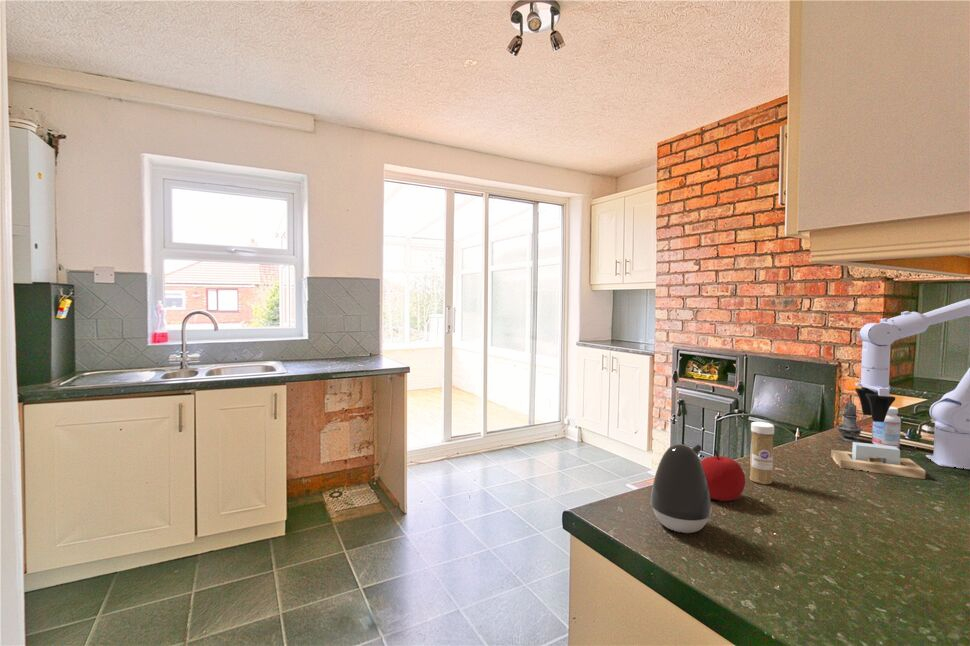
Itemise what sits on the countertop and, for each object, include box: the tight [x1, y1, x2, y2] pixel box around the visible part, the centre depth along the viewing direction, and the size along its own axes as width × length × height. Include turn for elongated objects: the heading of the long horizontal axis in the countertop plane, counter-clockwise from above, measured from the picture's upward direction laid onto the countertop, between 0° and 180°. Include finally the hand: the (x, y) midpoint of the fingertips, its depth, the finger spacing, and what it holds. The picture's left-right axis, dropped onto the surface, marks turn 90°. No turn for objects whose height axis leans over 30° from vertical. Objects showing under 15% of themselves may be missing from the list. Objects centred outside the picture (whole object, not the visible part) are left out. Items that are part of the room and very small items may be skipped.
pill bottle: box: [871, 405, 902, 449], centre depth 131 cm, size 6×6×11 cm
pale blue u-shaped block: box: [851, 442, 901, 465], centre depth 113 cm, size 8×3×6 cm, turn 64°
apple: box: [700, 450, 746, 502], centre depth 95 cm, size 9×9×10 cm
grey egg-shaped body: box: [650, 443, 712, 534], centre depth 83 cm, size 10×10×15 cm
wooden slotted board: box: [830, 449, 926, 480], centre depth 113 cm, size 16×9×2 cm, turn 64°
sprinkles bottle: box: [749, 421, 775, 485], centre depth 104 cm, size 5×5×14 cm
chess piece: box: [836, 400, 863, 443], centre depth 136 cm, size 6×6×12 cm
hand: (873, 418), depth 121 cm, fingers open, 7 cm apart
